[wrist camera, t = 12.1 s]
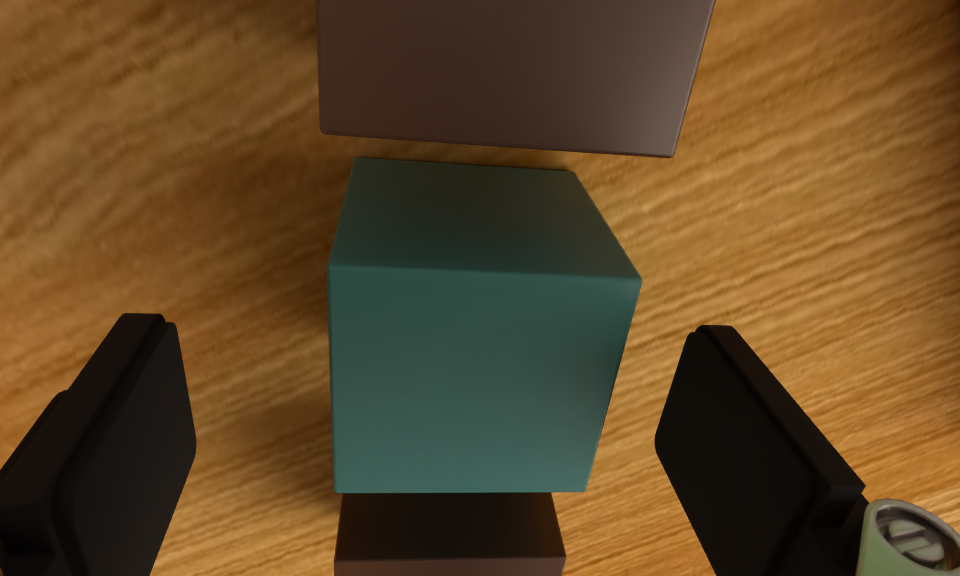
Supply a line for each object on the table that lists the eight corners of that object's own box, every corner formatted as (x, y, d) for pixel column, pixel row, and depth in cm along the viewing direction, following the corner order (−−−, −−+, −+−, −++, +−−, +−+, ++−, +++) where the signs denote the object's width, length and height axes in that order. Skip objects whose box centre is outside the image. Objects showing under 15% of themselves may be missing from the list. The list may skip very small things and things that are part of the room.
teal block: (354, 341, 16) (332, 494, 12) (354, 155, 13) (324, 265, 9) (542, 346, 17) (586, 494, 12) (575, 170, 14) (644, 279, 10)
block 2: (354, 521, 19) (337, 689, 15) (353, 400, 17) (333, 562, 13) (508, 519, 20) (534, 679, 16) (530, 403, 18) (567, 557, 13)
